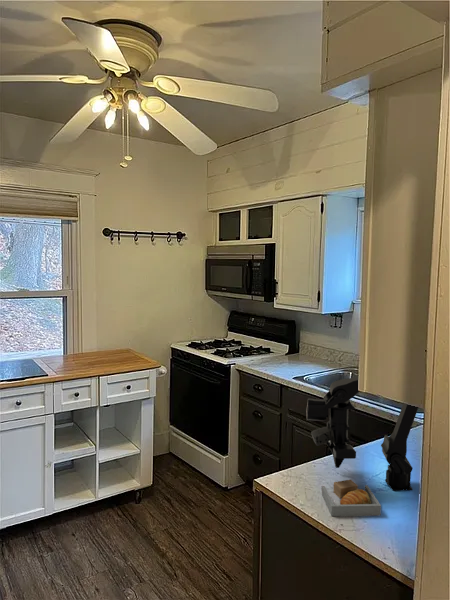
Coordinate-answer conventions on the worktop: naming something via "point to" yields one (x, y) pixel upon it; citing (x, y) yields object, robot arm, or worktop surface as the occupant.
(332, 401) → the robot arm
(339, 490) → the cardboard brown box
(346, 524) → the worktop surface
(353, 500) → the pastry
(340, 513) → the bay
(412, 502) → the worktop surface
